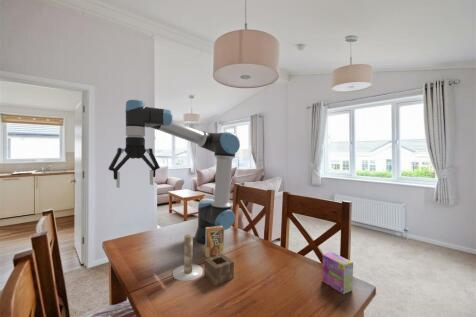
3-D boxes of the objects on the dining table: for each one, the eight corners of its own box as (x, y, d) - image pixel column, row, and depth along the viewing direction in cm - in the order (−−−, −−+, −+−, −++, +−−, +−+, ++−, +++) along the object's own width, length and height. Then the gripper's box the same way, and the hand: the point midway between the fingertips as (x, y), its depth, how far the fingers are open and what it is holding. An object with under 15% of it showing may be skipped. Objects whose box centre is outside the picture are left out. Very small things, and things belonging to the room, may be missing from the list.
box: (321, 281, 96) (322, 254, 95) (330, 277, 99) (331, 251, 98) (343, 295, 87) (344, 265, 86) (352, 290, 90) (353, 262, 89)
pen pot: (221, 270, 102) (222, 253, 102) (233, 280, 95) (234, 261, 95) (204, 277, 97) (204, 259, 96) (215, 288, 90) (216, 268, 89)
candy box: (221, 253, 119) (221, 225, 118) (223, 257, 115) (224, 227, 114) (204, 255, 116) (205, 226, 115) (206, 259, 112) (207, 229, 111)
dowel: (190, 268, 101) (190, 233, 101) (193, 272, 99) (194, 236, 98) (182, 271, 99) (183, 235, 98) (186, 274, 96) (186, 238, 96)
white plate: (194, 263, 108) (194, 261, 108) (208, 276, 98) (208, 273, 98) (168, 272, 100) (168, 269, 100) (180, 287, 90) (180, 284, 90)
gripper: (161, 138, 107) (161, 182, 108) (100, 135, 92) (100, 187, 93) (167, 138, 102) (166, 184, 103) (103, 135, 86) (103, 190, 87)
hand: (135, 185), depth 98 cm, fingers open, 13 cm apart
